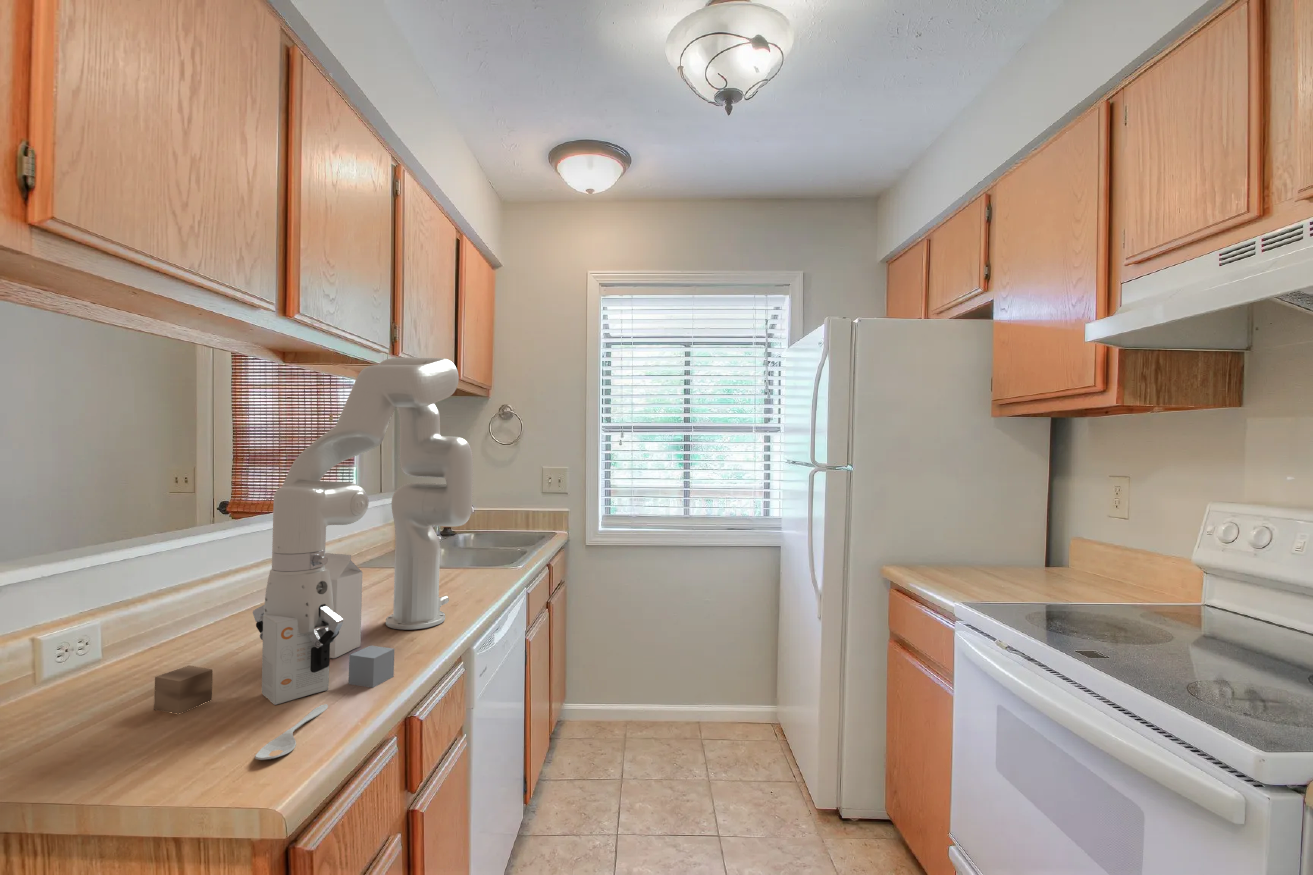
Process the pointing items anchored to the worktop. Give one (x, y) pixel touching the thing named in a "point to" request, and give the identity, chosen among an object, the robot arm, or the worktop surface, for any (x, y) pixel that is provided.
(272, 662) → the small box
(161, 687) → the walnut block
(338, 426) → the robot arm
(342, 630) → the milk carton
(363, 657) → the slate block
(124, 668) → the worktop surface
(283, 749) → the spoon
